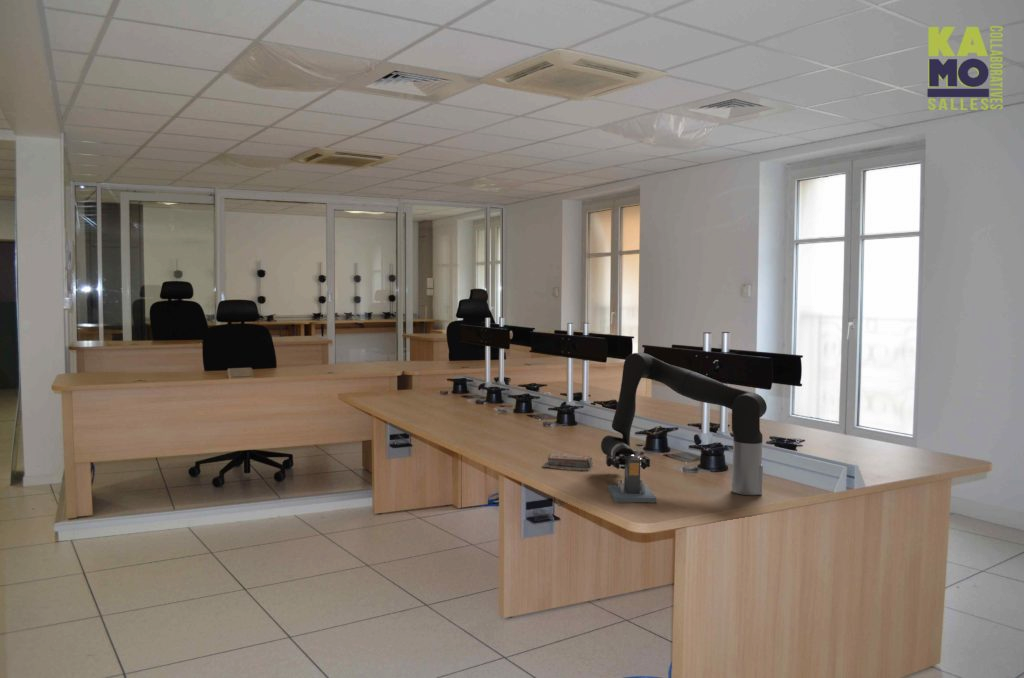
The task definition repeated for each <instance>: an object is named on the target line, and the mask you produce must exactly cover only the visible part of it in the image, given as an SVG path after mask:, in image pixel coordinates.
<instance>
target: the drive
mask: <svg viewBox="0 0 1024 678" xmlns="http://www.w3.org/2000/svg"><path fill="white" fill-rule="evenodd" d="M638 457H639V456H638V455H636V456H625V469H624V476H623V477H624V478H623V479H624V480H623V481H624V489H625V491H626V492H627V494H640V480H641V467H640V464H641V462H640V459H639V458H638Z"/></svg>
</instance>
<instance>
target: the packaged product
mask: <svg viewBox="0 0 1024 678" xmlns="http://www.w3.org/2000/svg"><path fill="white" fill-rule="evenodd" d="M592 461H593V457H592V456H590V455H589V456H588V455H580V454H578V455H577V454H565V453H564V454H563V453H554V452H553V453H552V452H551V453H549V455H548V457H547V460H546V461H545V463H543V465H542V468H543V467H550V468H549V469H555V468H563V469H562V470H567V469H573V470H572V471H581V470H583V471H584V472H590V470H591V469H592V468H593V467H594V464H593V462H592ZM583 471H582V472H583Z"/></svg>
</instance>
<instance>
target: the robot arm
mask: <svg viewBox="0 0 1024 678" xmlns="http://www.w3.org/2000/svg"><path fill="white" fill-rule="evenodd" d="M621 378H622V379H621V385H620V389H619V390H620V391H619V395H618V396H619V397H618V401H617V405H616V408H615V412H614V415H613V419H612V423H611V427H612V430H614V431H615V432H617V433H619V434H620V435H622V437H618V436H614V435H609V434H608V435H605V436H604V437H603V438H602V440H601V441H600V450H601V452H602V453H603V454H604V455H606V456H605V464H606V466H607V467H613V468H616V469H618V470H619V469H623V470H625V456H637V455H636V453H635V451H634V450H633V449H632V448H631V443H630V440H631V438H630V437H631V431H632V430H631V429H632V427H633V426H632V425H633V423H634V422H633V421H634V420H635V419H634V418H635V414H636V407H637V406H636V404H637V403H636V402H637V401H636V399H637V390H638V386H639V384H640V382H641V379H648V380H651V381H655V382H659V383H661V384H664V385H665V386H667V387H668V388H670V389H671V390H672V391H674V392H675V393H677V394H679V395H681V396H683V397H685V398H688V399H691V400H693V401H697V402H701V403H706V404H712V405H718V406H722V407H724V408H727V409H730V410H731V431H732V435H733V443H732V444H733V445H732V447H733V449H732V476H731V479H732V480H731V492H732V493H734V494H738V495H742V496H743V495H744V496H758V495H759V496H762V495H763V477H764V476H763V475H764V474H763V473H764V472H763V471H764V469H763V468H764V467H763V465H762V463H763V434H762V432H761V429H760V428H761V427H760V426H761V425H760V424H761V421H760V420H761V417H763V416H764V415H765V414H766V412H767V409H768V407H767V403H766V400H765V399H764V397H763V396H761V395H760V394H758V393H756V392H754V391H753V392H752V391H749V390H744V389H739V388H737V387H733V386H730V385H728V384H725V383H723V382H720V381H718V380H716V379H713V378H711V377H708V376H706V375H704V374H701V373H698V372H696V371H693V370H691V369H687V368H684V367H680V366H676V365H673V364H669V363H667V362H664V360H660V359H658V358H656V357H654V356H652V355H650V354H648V353H644V352H633V353H631V354H629V355H627V357H626V358H625V359H624V362H623V367H622V375H621ZM638 458H639V459H640V468H641V469H642V470H646V469H647V468H650V467H651V459H650V458H649V457H648V456H647V455H642V457H640V456H638Z"/></svg>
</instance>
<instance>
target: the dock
mask: <svg viewBox="0 0 1024 678" xmlns="http://www.w3.org/2000/svg"><path fill="white" fill-rule="evenodd" d="M607 490H609V491H608V493H609V494H610V495H611V497H612V499H613V501H614V502H615V503H634V502H652V503H653V504H654V502H656V503H657V496H656V495H655V494H654V493H653V492H652V490H651V489H650V488H649V487H648V485H646V483H643V479H642V480H641V479H640V494H627V492H626V491H625V489H624V483H623V480H622V479H619V480H618V481H617V484H609V485H607ZM652 503H651V504H652Z"/></svg>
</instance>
